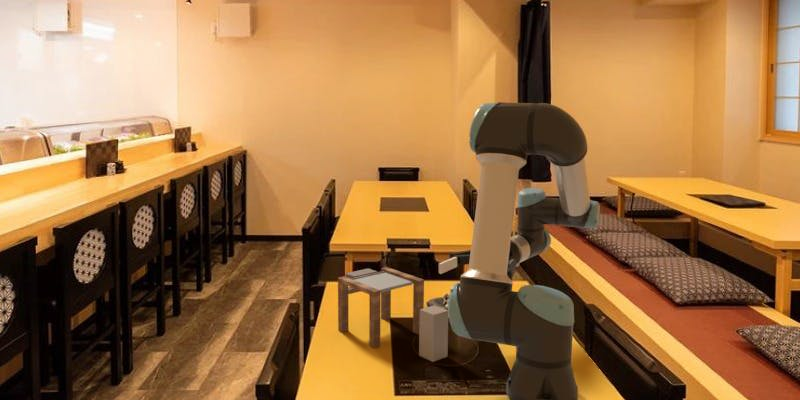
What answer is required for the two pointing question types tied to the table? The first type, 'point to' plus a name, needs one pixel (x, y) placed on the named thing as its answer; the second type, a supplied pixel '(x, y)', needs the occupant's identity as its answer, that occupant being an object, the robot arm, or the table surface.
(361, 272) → the flap
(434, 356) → the granite block
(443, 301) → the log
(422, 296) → the trapdoor frame
